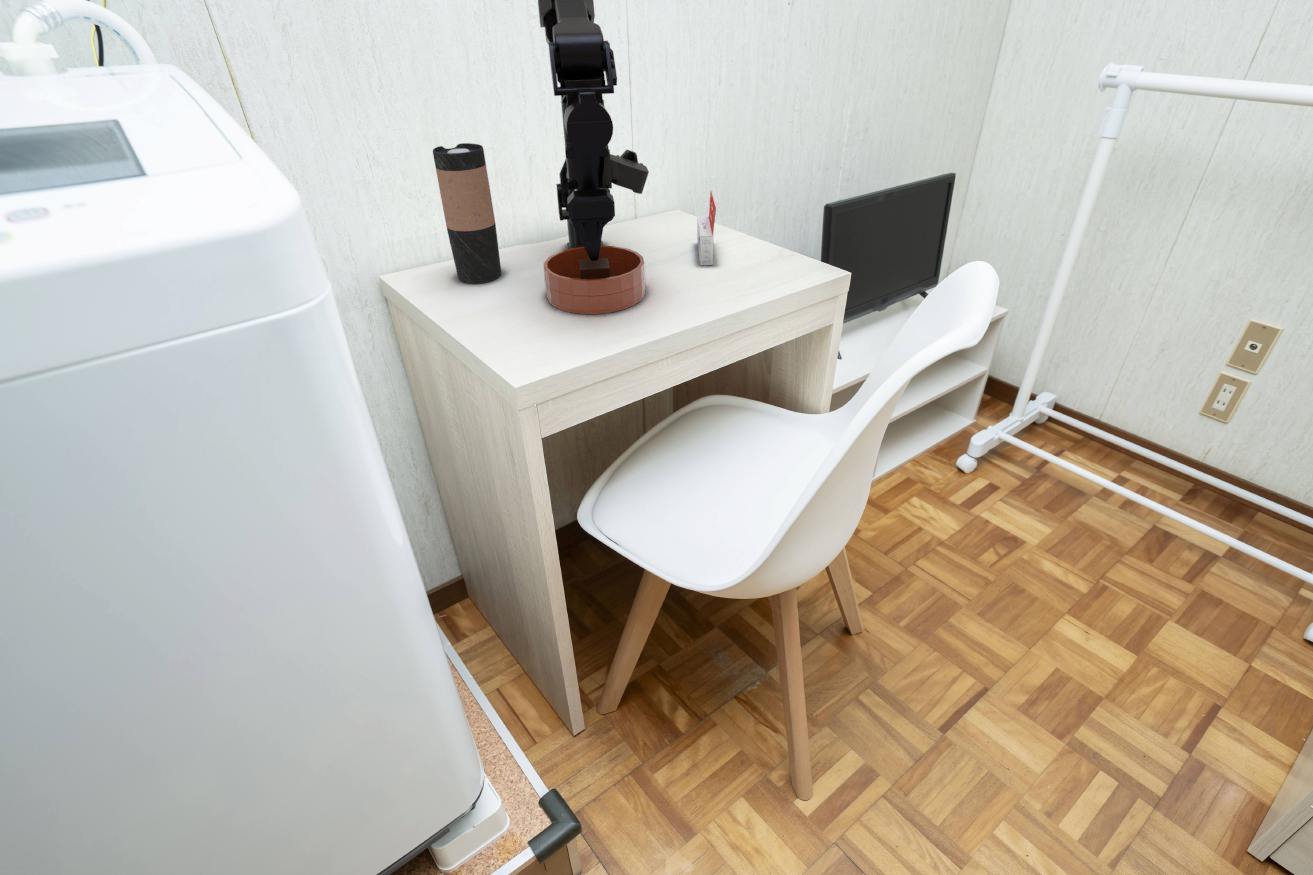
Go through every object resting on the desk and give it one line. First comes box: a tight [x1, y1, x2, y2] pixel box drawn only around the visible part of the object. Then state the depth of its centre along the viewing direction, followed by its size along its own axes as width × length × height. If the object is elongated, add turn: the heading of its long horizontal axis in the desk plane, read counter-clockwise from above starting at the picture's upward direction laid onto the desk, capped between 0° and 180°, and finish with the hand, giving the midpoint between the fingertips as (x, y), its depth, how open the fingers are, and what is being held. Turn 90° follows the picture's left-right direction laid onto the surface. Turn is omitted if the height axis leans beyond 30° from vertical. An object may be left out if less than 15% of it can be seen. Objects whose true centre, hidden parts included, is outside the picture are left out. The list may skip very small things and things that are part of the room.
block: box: [579, 258, 610, 279], centre depth 103 cm, size 4×4×4 cm
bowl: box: [543, 245, 646, 315], centre depth 103 cm, size 15×15×5 cm
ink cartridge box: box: [696, 190, 717, 266], centre depth 115 cm, size 2×11×10 cm, turn 0°
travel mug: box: [432, 142, 502, 285], centre depth 106 cm, size 8×8×20 cm
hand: (593, 250), depth 100 cm, fingers open, 9 cm apart
